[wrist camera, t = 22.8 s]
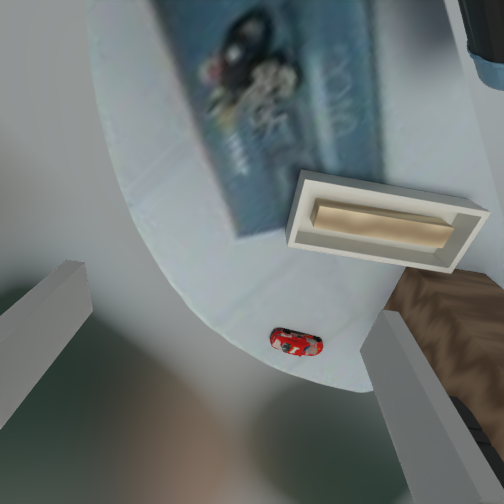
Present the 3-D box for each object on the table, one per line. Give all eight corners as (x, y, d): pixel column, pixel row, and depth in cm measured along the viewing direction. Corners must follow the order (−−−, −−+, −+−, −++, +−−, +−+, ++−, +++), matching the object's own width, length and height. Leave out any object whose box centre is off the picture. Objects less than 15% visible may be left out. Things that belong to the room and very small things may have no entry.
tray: (300, 169, 47) (305, 179, 42) (467, 199, 49) (491, 212, 43) (285, 231, 53) (287, 246, 48) (433, 256, 55) (451, 273, 50)
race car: (326, 337, 68) (329, 350, 65) (316, 351, 71) (319, 364, 67) (275, 323, 66) (276, 336, 63) (267, 338, 69) (268, 351, 66)
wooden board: (316, 197, 49) (319, 205, 45) (441, 218, 50) (454, 227, 46) (310, 218, 51) (313, 227, 47) (430, 237, 52) (442, 248, 48)
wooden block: (409, 261, 56) (602, 493, 24) (484, 273, 56) (770, 515, 24) (374, 325, 65) (480, 553, 33) (440, 335, 65) (604, 568, 34)
